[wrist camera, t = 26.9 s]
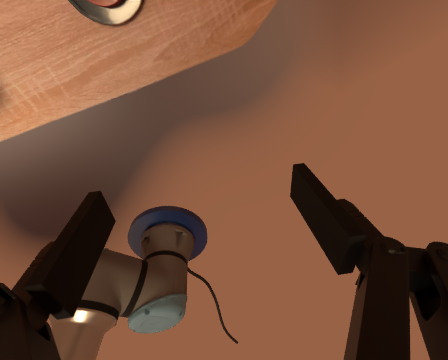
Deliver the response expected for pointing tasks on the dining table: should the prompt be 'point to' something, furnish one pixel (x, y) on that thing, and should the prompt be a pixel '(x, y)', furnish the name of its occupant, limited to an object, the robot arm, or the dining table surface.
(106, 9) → the saucer
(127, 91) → the dining table surface
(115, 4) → the lid
